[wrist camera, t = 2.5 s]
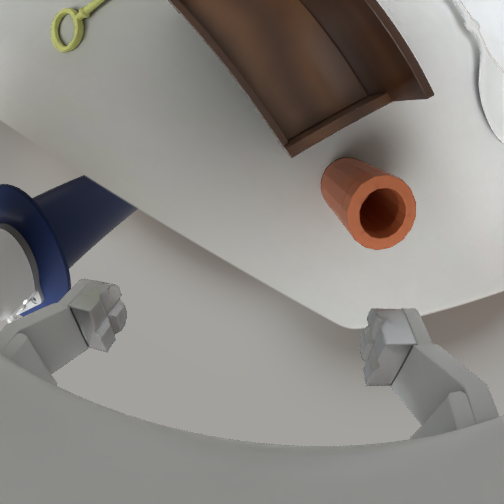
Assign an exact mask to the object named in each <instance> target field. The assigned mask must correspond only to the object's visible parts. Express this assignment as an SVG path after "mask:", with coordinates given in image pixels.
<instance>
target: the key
mask: <svg viewBox="0 0 504 504" xmlns="http://www.w3.org/2000/svg"><path fill="white" fill-rule="evenodd" d="M104 1H105V0H93V1H92V2H91V3H89V4H88V5H87V6H86V7H85V8H83V7H82V8H80V9H79V13H78V12H77V11H76V10H74V9H71V8H65V9H62V10H61V11H60V12H59V13H58V14H57V15H56V16H55V18H54V19H53V22H52V26H51V38H52V42H53V44H54V46H55V48H56V49H57V50H59V51H61V52H69V51H72V50H73V49H75V48H76V47H77V46H78V45H79V43H80V41H81V39H82V37H83V31H84V26H83V21H82V19H83V18H88V17H89V16H90V12H92V11H93V10H94V9H95V8H96V7H98V6H99V5H100V4H101V3H103V2H104ZM67 14H70V15H71V17H72V19H73V22H74V30H75V31H74V37H73V39H72V41H71V42H70V44H69V45H67V46H65V45H64V44H62V42H61V41H60V39H59V35H58V29H59V24H60V21H61V20H62V18H63V17H64V16H65V15H67Z"/></svg>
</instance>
